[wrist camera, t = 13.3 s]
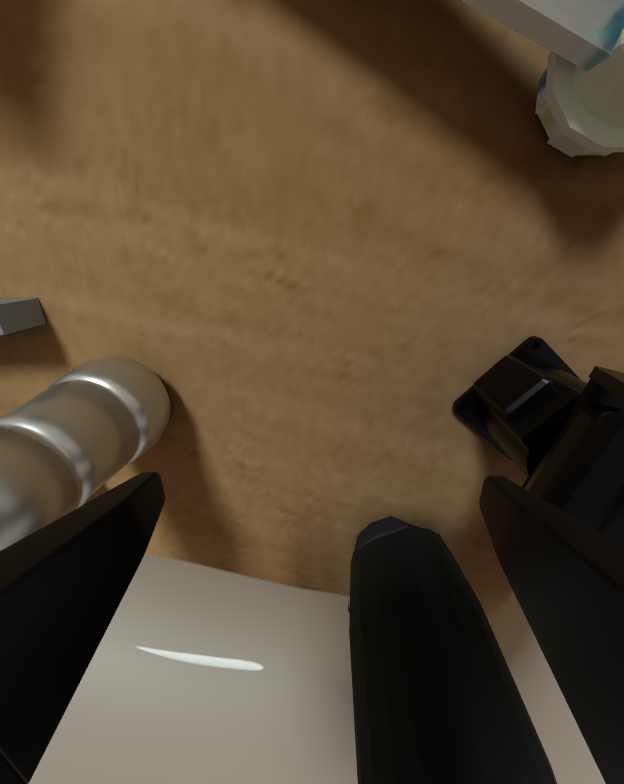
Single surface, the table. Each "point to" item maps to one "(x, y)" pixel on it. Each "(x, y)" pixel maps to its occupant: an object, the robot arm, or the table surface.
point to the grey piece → (574, 68)
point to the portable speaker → (430, 671)
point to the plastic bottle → (75, 440)
